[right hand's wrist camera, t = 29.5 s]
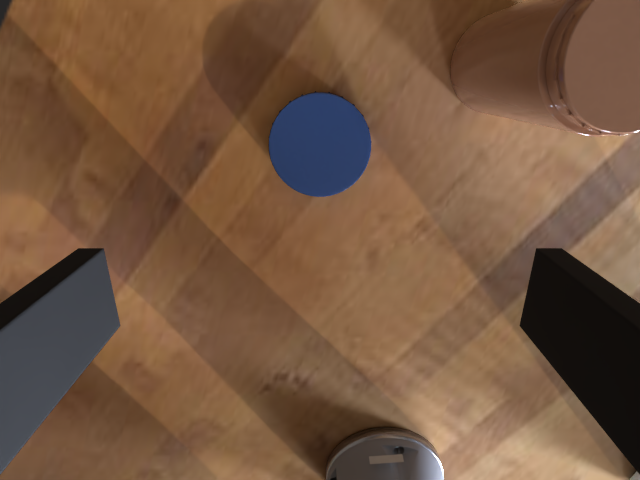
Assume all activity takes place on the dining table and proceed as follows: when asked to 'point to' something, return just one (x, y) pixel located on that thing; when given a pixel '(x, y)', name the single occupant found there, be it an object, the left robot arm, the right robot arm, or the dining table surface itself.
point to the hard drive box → (635, 476)
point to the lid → (319, 144)
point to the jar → (555, 65)
